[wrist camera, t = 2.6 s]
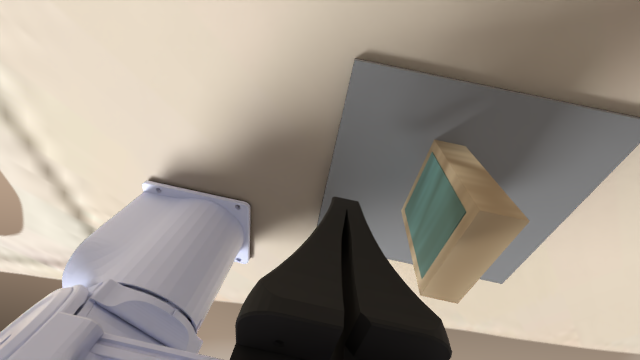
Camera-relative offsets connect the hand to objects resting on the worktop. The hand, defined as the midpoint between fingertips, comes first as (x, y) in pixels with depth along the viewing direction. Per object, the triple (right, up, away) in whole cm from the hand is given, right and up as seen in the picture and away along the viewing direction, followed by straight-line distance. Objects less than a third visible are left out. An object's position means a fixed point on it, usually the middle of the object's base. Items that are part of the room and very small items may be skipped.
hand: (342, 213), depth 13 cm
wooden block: (+6, +2, +4) cm, 8 cm away
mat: (+8, +1, +6) cm, 10 cm away
